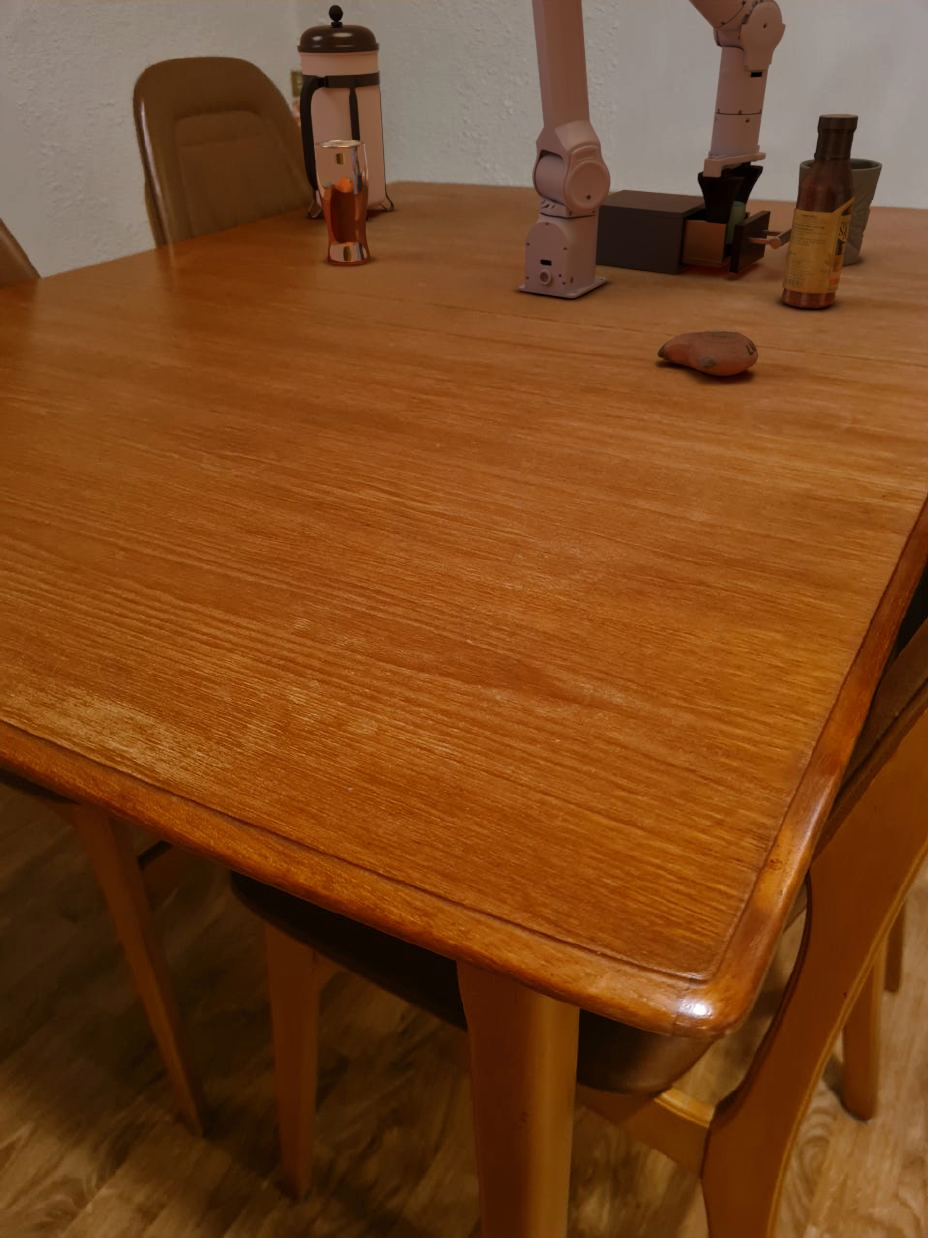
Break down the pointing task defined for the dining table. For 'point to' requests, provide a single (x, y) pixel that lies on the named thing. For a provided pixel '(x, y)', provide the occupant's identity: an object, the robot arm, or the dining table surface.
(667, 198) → the dark grey cabinet
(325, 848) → the dining table surface
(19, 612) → the dining table surface
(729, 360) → the sweet potato
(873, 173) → the grey tapered cup
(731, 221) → the jar
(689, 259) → the drawer
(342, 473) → the dining table surface
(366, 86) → the coffee press
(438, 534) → the dining table surface
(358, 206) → the beer glass
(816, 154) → the sauce bottle
